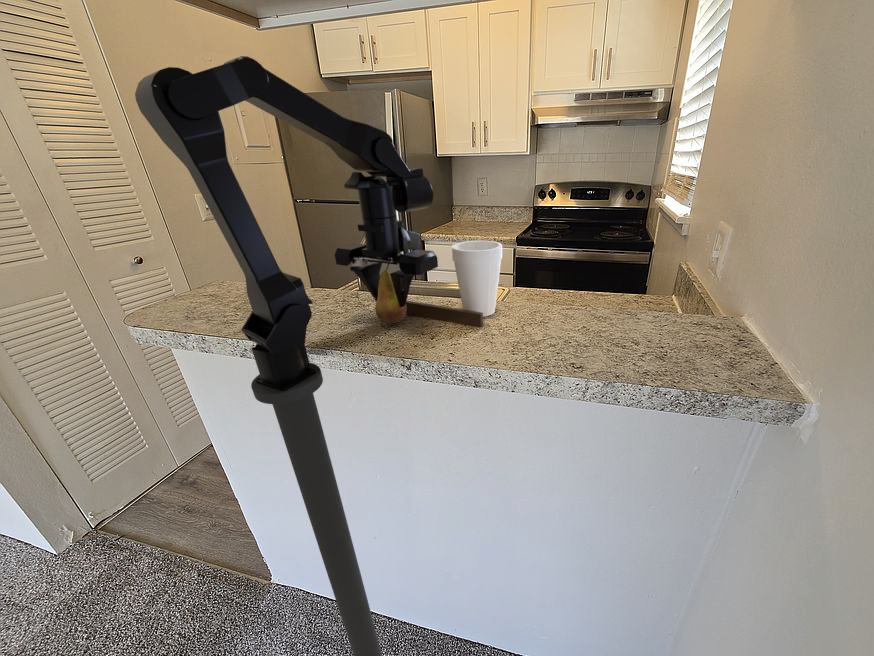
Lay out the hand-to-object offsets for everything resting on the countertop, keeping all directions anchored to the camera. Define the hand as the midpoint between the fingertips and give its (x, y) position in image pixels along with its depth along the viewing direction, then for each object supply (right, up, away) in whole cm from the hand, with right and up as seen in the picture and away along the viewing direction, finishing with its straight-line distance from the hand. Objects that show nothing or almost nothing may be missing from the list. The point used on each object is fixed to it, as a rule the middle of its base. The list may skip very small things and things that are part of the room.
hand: (391, 304), depth 75 cm
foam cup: (+16, -1, +6) cm, 18 cm away
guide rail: (+8, -2, +3) cm, 9 cm away
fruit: (0, -3, +1) cm, 4 cm away
